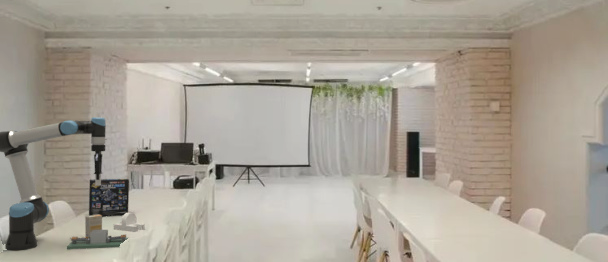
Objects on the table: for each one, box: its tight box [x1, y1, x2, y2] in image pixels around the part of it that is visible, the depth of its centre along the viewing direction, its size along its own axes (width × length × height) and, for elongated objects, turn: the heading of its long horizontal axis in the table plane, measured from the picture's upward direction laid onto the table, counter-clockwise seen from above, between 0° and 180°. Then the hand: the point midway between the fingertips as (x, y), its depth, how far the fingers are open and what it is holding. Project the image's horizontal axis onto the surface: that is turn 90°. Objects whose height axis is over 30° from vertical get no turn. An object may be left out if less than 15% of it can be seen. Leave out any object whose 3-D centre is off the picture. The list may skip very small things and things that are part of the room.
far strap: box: [107, 233, 127, 240], centre depth 281 cm, size 10×5×2 cm, turn 104°
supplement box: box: [84, 214, 103, 238], centre depth 295 cm, size 8×5×13 cm, turn 141°
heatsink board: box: [66, 229, 129, 250], centre depth 278 cm, size 30×16×8 cm, turn 104°
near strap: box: [70, 236, 90, 242], centre depth 276 cm, size 10×5×2 cm, turn 104°
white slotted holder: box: [113, 212, 146, 233], centre depth 319 cm, size 10×18×11 cm, turn 66°
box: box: [88, 178, 130, 218], centre depth 363 cm, size 27×7×27 cm, turn 115°
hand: (98, 185), depth 285 cm, fingers closed
